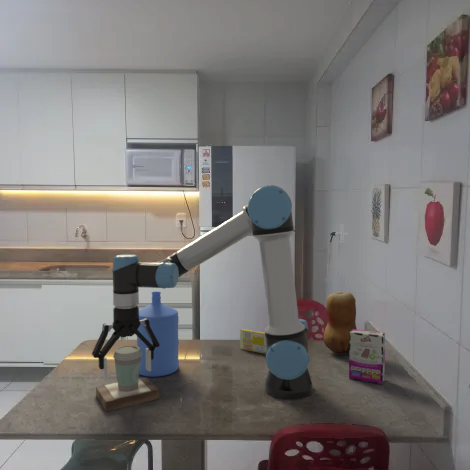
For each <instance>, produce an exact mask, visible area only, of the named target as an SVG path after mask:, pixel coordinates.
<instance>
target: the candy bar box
mask: <svg viewBox="0 0 470 470" xmlns="http://www.w3.org/2000/svg"><path fill="white" fill-rule="evenodd" d="M349 341H350V342H349V354H348V357H349V359H348V363H349V364H348V367H349V368H348V379H349V380H354V381H360V382H365V383H370V384H371V383H372V384H377V385H383V383H384V381H385V367H386V365H385V361H386V360H385V359H386V357H385V355H386V350H385V349H386V333H385V332H382V331H375V330H373V331H372V330H366V329H365V330H364V329H357V330H356V329H352V330H351V331H350V337H349Z"/></svg>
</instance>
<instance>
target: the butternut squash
mask: <svg viewBox="0 0 470 470" xmlns="http://www.w3.org/2000/svg"><path fill="white" fill-rule="evenodd" d="M356 302H357V301H356V297H355V296H354V295H353V293H351V292H350V291H344V290H343V291H335V292H332V293H330V294H328V296H327V297H326V302H325V303H326V306H325V312H326V318H327V324H326V327H325V328H324V330H323V343H324V345H325V347H326V348H327V349H329V350H330V351H332V352H333V353H334V354H337V355H339V356H340V355H349V342H350V341H349V337H350V331H351V330H352V329H356V330H358V329H357V325H356V318H357V317H356V316H357V306H356Z"/></svg>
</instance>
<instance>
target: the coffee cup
mask: <svg viewBox="0 0 470 470" xmlns="http://www.w3.org/2000/svg"><path fill="white" fill-rule="evenodd" d="M141 356H142V352H141V350H140V348H139V347H138V346H137V345H131V344H130V345H122V346H118V347H117V348H116V349H115V350H114V352H113V356H112V357H113V358H112V359H114V364H115V365H114V367H115V374H116V379H117V382H118V388H119V390H120V391H125V392H128V391H133V390H135V389H137V388H138V381H139V378H140V374H139V371H140V361H141Z"/></svg>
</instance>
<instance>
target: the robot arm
mask: <svg viewBox="0 0 470 470" xmlns="http://www.w3.org/2000/svg"><path fill="white" fill-rule="evenodd" d="M242 207H243V208H242V211H240V212H239V213H237V214H235V215H234V216H232V217H230V219H228V220H226V221H224V222H223V223H221V224H219V225H218V226H216V227H214V228H213V229H211V230H209V231H208V232H206V233H205V234H203V235H201V236H199V237H198V238H197V239H195V240H193V241H192V242H190V243H189V244H187V245H185V246H183V247H182V248H180V249H178V250H177V251H175V252H174V253H171V254H170V255H169V256H167V257H166V258H164V259H160V260H158V261H156V262H152V261H151V262H150V261H148V262H147V261H146V262H145V261H144V262H143V261H140V260H139V256H138V255H137V254H118V255H115V256H114V257H113V259H112V270H111V271H112V284H113V285H112V287H113V289H112V292H113V293H112V295H113V296H112V297H113V298H112V299H113V301H112V305H113V306H114V307H113V309H112V312H113V315H112V316H113V322H112V323H110V324H109V323H103V324H102V330H101V332H100V335H99V337H98V339H97V341H96V343H95V345H94V348H93V350H92V353H91V355H92V357H93V358H94V359H98V368H99V369H100V370H101V372H102V373H101V374H102V375H101V378H102V379H103V381H108V360H107V357H106V356H107V354H108V353H109V352H110V350H111V349H112V347H114V345H115V343H116V342H117V341H119V339H120V338H126V337H133V336H134V335H136V337H137V336H138V337H139V338H140V340H141V341H142V342H143V343H144V344H145V345H146V346H147V347H148V348H147V349H146V369H147V370H148V371H151V360H152V359H153V358H154V350H155V348H156V347H159V342H158V341H157V339H156V337H155V335H154V333H153V331H152V329H151V327H150V323H149V320H148V319H146V318H144V319H143V320H139V310H140V306H139V303H140V300H139V299H140V297H139V296H140V295H139V291H140V289H139V288H152V289H153V288H156V289H165V290H166V289H173V288H175V287H176V286H177V284H178V282H179V278H181V277H182V276H183V275H186V274H187V273H188V272H190V271H192V269H195V268H196V267H198V266H200V265H201V264H203V263H205V262H206V261H208V260H210V259H211V258H213V257H215V256H217V255H218V254H220V253H221V252H223V251H225V250H226V249H229V248H230V247H232V246H233V245H236V244H237V243H238V242H240V241H242V240H243V239H245V238H247V237H248V236H250V235H252V236H253V237H254V238H255V239H257V241H258V243H259V251H260V252H259V253H260V259H261V260H260V261H261V269H262V278H263V284H264V293H265V294H264V295H265V300H266V309H267V317H268V324H267V326H266V327H265V328H264V333H265V339H266V347H267V353H266V354H265V362H266V366H267V368H268V371H267V374H266V375H267V376H266V378H265V381H264V389H265V390H264V391H265V392H266V393H267V394H269V395H270V396H272V397H274V398H277V399H280V400H281V399H282V400H287V401H288V400H289V401H290V400H302V399H305V398H308V397H310V396H311V395H312V394H313V381H312V378H311V375H310V371H309V368H308V366H309V363H310V355H309V344H308V342H309V341H308V340H309V339H308V337H309V336H308V332H309V331H308V330H309V326H308V325H309V324H308V321H307V320H305V319H303V318H299V310H298V309H299V308H298V302H297V301H298V300H297V293H296V284H295V275H294V267H293V257H292V250H291V249H292V248H291V241H290V238H291V236H292V234H293V233H294V231H295V229H294V228H295V227H294V221H293V220H294V219H293V212H292V210H293V209H292V207H293V205H292V200H291V197H290V196H289V194H288V193H287V192H286V191H285V189H283V188H282V187H280V186H277V185H274V184H273V185H272V184H271V185H264V186H261V187H259V188H257V189H256V190H255V191H254V192H252V194H251V196H250V197H249V199H248V202H247V204H246V205H244V206H242ZM140 324H142V326H144V328H145V329H146V331H147V333H148V335H149V337H150V339H151V341H152V342H153V343H152V344H151V343H150V342H149V341H148V340H147V339H146V338H145V337H144V336H143V335H142V334H141V333H140V332H139V331H138V330H137V329H138V328H139V326H140ZM111 330H114V332H113V333H112V334H111V337H110V338H109V339H108V340H107V338H108V335H109V332H110V333H111ZM106 340H107V341H106ZM105 342H106V343H105ZM104 344H105V345H104Z"/></svg>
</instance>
